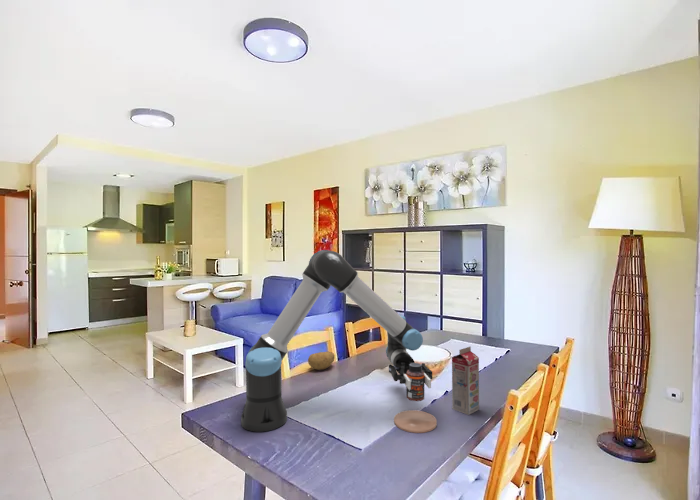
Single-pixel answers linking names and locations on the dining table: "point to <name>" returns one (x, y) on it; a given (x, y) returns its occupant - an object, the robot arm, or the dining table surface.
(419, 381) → the supplement bottle
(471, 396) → the juice carton
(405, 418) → the saucer
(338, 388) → the dining table surface
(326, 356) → the potato
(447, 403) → the dining table surface
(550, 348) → the dining table surface
